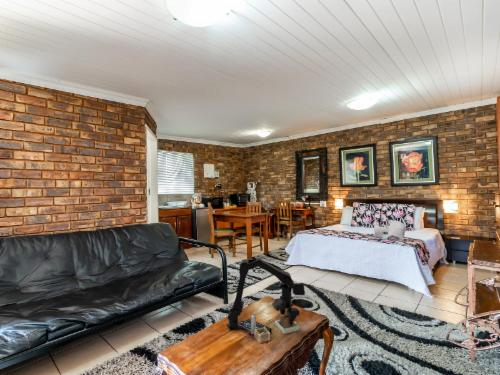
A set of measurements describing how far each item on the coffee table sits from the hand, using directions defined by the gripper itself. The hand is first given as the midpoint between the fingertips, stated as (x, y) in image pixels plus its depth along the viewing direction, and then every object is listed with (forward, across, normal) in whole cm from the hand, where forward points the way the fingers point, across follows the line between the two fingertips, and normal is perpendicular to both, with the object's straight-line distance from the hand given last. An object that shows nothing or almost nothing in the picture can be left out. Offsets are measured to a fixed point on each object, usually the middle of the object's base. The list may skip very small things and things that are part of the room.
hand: (286, 321), depth 158 cm
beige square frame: (+4, +4, -18) cm, 19 cm away
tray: (+4, 0, 0) cm, 4 cm away
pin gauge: (+4, -3, -20) cm, 21 cm away
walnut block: (+3, 0, 0) cm, 3 cm away
